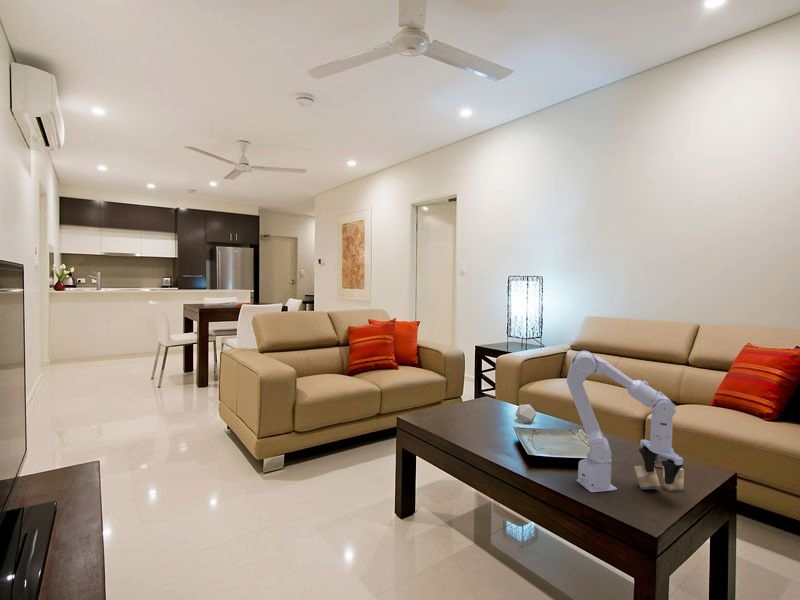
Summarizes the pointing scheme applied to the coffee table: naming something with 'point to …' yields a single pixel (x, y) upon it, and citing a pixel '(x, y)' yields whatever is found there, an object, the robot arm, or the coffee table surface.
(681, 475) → the beech tile
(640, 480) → the beech tile
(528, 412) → the die
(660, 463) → the pill bottle
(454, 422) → the coffee table surface
